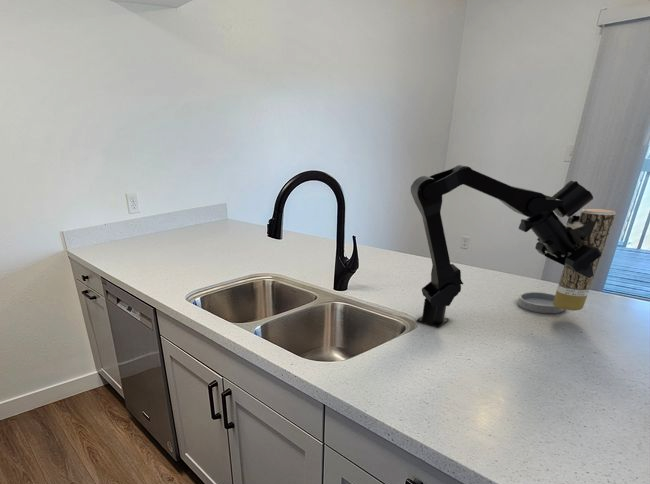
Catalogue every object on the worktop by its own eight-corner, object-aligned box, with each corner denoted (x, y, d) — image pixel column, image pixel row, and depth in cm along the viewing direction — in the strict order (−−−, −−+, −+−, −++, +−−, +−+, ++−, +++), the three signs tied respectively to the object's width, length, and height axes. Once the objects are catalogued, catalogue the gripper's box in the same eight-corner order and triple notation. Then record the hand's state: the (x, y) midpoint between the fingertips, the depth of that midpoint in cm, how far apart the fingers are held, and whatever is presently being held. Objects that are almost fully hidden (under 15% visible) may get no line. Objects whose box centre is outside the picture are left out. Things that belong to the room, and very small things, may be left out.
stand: (557, 316, 120) (559, 309, 119) (511, 306, 128) (513, 299, 127) (569, 304, 127) (571, 297, 126) (525, 296, 135) (527, 289, 134)
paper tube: (588, 309, 115) (622, 211, 105) (571, 312, 113) (605, 213, 102) (562, 301, 121) (593, 208, 110) (546, 304, 118) (575, 209, 108)
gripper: (606, 213, 97) (641, 260, 101) (560, 200, 114) (591, 241, 118) (559, 248, 102) (594, 292, 106) (520, 231, 118) (552, 270, 122)
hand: (583, 272), depth 113 cm, fingers closed on paper tube, 7 cm apart
